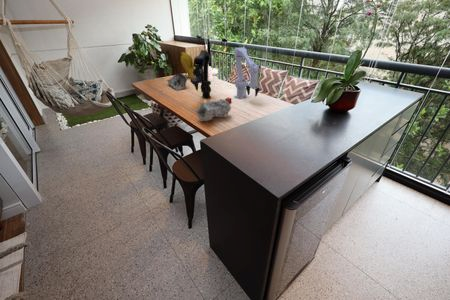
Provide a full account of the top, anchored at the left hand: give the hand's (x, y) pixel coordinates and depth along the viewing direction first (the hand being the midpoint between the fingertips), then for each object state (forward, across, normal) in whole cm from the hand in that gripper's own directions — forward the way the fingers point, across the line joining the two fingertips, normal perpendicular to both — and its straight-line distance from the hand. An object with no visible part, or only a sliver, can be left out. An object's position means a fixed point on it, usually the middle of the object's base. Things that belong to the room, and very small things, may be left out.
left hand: (201, 91), depth 178 cm
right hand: (+5, +35, +30) cm, 46 cm away
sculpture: (+12, -76, +62) cm, 99 cm away
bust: (+12, +27, -17) cm, 34 cm away
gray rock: (+12, -60, +25) cm, 66 cm away
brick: (+12, +17, +17) cm, 27 cm away
